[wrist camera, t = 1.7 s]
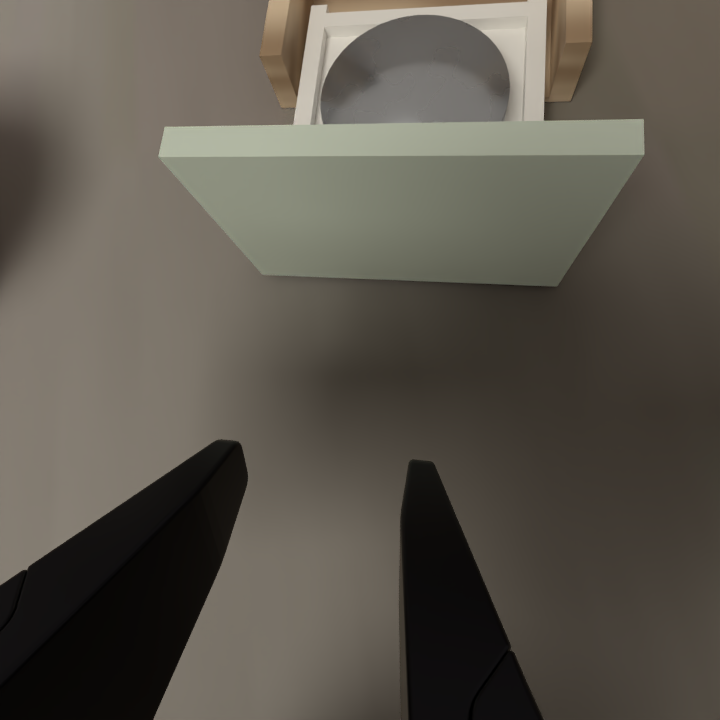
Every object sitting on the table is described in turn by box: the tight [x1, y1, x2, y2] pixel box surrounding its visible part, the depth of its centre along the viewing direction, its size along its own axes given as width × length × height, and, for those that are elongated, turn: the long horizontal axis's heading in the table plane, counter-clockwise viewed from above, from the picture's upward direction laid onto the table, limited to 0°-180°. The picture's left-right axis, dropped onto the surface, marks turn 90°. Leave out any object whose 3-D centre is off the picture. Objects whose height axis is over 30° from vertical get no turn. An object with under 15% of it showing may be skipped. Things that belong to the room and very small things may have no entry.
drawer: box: [158, 0, 644, 287], centre depth 18 cm, size 14×13×9 cm
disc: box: [320, 15, 510, 124], centre depth 21 cm, size 8×8×2 cm
